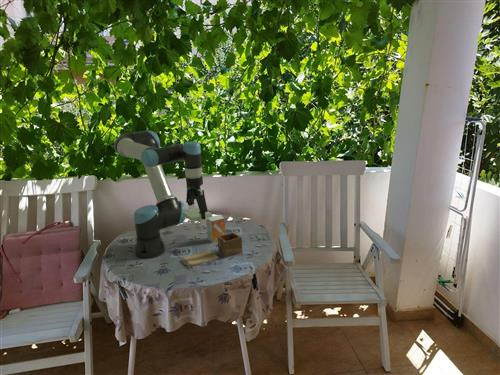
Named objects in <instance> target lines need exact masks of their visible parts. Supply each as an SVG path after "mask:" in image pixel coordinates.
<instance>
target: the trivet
mask: <svg viewBox="0 0 500 375" xmlns="http://www.w3.org/2000/svg"><path fill="white" fill-rule="evenodd" d="M182 260H183V261H184V263H186V264H187V265H188V266H189V267H190V268H191V269H194V267H196V266H200V265H202V264H206V263H209V262H212V261H215V260H219V256H217V254H215V253H214V252H212V251H211V250H210V249H207V250H204V251H201V252H197V253H194V254H190V255H186V256H183V257H182Z"/></svg>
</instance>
